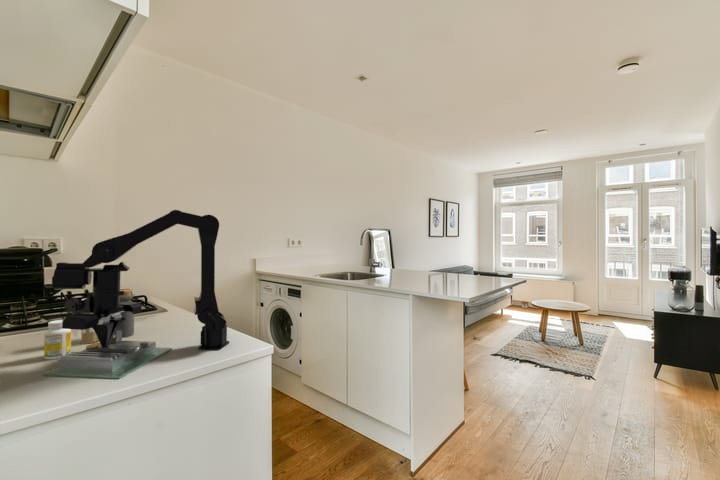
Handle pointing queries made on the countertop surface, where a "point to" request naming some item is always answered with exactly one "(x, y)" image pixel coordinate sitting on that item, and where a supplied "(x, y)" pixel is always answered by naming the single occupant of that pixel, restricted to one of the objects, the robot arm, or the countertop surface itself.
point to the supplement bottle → (56, 340)
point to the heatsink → (107, 361)
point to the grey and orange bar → (112, 348)
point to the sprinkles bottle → (88, 334)
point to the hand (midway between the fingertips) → (104, 346)
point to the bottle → (127, 315)
